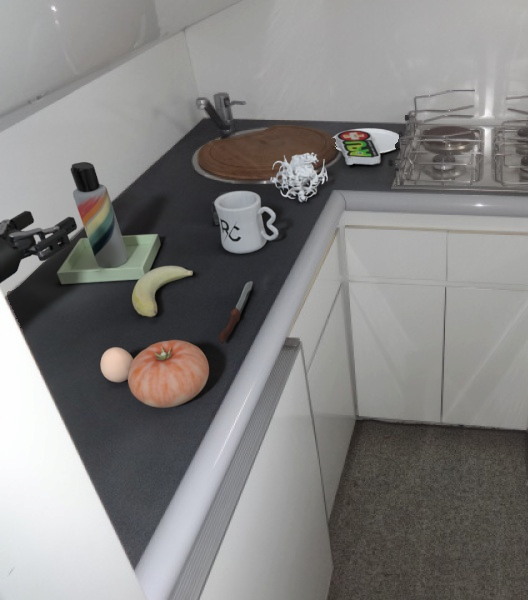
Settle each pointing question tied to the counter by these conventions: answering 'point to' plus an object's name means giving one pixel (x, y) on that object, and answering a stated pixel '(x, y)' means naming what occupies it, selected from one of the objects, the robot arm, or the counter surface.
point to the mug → (243, 222)
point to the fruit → (154, 287)
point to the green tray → (86, 269)
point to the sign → (358, 147)
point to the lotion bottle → (98, 217)
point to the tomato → (168, 373)
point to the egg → (116, 364)
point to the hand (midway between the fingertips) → (52, 218)
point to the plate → (380, 139)
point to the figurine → (300, 175)
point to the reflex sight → (216, 211)
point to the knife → (236, 313)
